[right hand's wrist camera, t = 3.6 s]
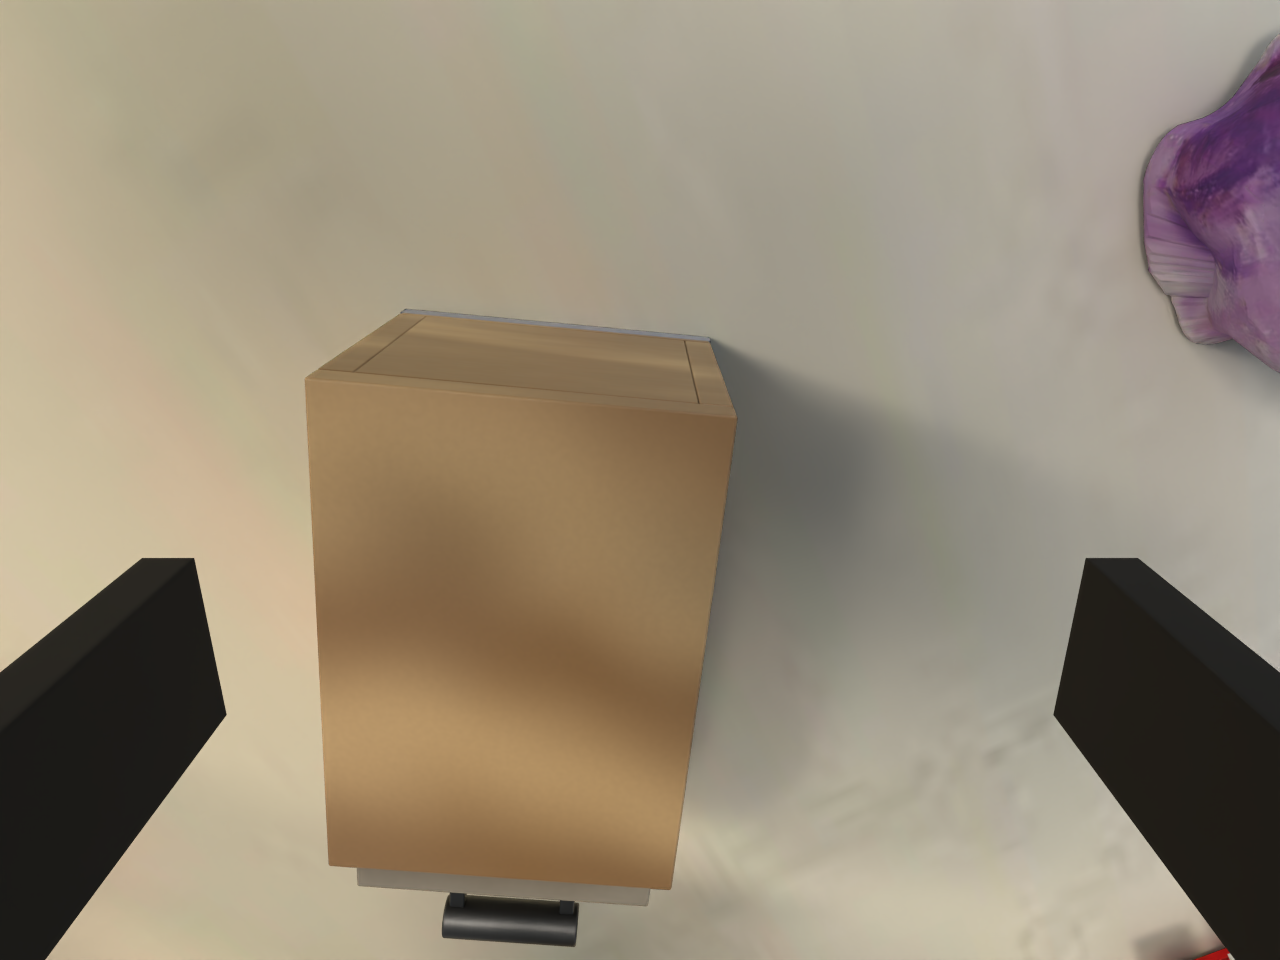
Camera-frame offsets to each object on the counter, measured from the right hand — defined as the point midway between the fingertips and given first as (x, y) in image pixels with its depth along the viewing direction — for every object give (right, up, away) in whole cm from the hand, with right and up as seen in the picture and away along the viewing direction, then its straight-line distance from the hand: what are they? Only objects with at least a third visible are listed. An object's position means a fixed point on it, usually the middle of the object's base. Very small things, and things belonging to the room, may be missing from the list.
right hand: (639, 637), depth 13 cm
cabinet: (-4, +1, +23) cm, 23 cm away
